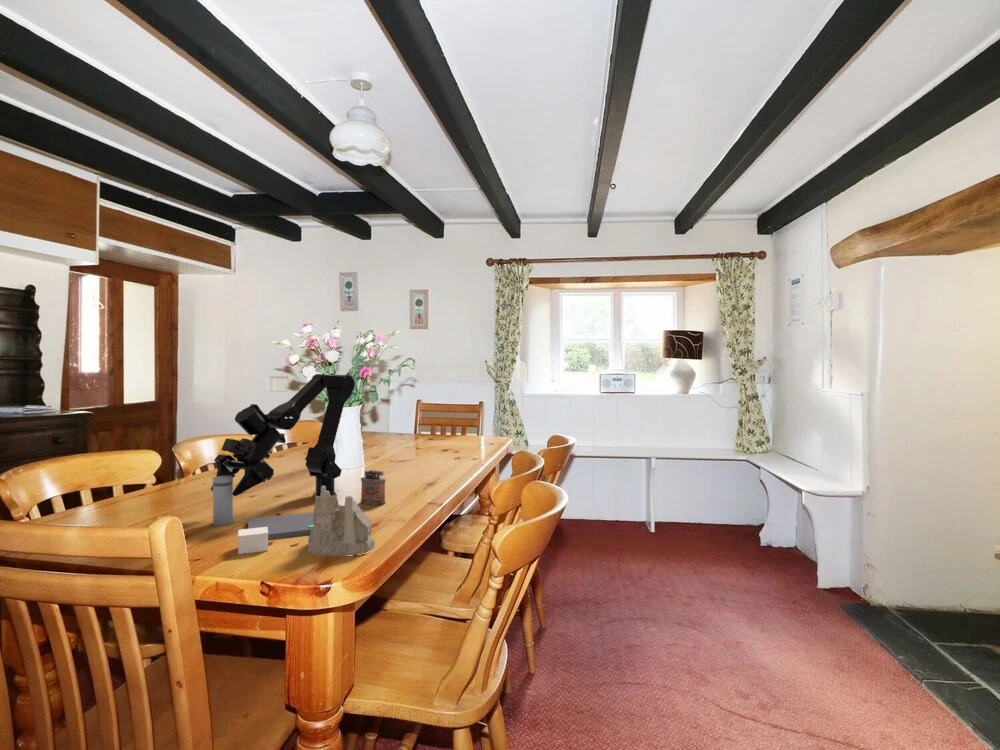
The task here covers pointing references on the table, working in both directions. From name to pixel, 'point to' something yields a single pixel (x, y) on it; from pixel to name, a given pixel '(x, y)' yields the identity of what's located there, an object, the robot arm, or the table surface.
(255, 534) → the charging mat
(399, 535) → the table surface
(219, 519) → the grey cylinder
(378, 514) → the table surface
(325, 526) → the stone castle ruin
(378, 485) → the lighter
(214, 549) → the table surface
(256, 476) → the robot arm
